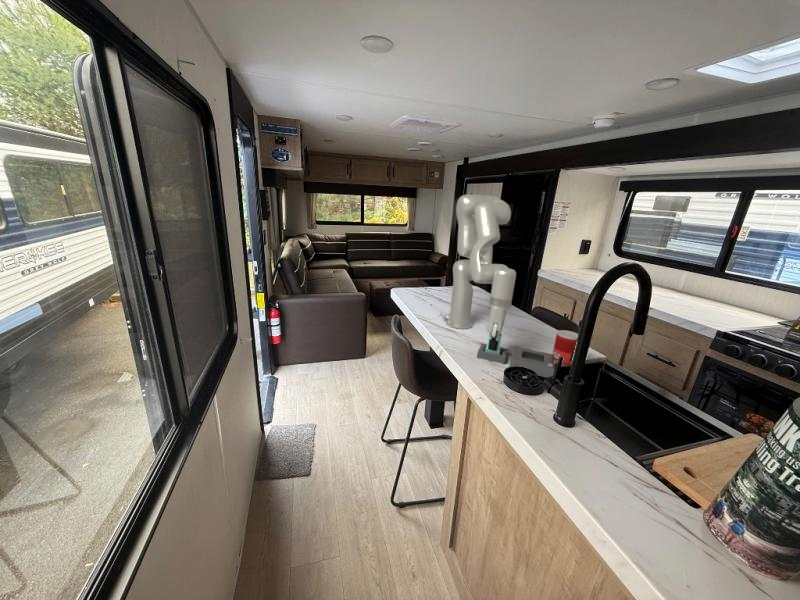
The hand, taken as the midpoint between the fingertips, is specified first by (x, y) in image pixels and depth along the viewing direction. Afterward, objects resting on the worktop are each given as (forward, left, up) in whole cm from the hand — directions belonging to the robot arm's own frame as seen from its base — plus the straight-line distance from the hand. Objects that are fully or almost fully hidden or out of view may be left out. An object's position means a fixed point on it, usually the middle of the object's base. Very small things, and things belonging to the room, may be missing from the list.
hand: (493, 347), depth 117 cm
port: (+14, -1, -4) cm, 15 cm away
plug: (0, 0, -3) cm, 3 cm away
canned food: (+25, +11, -4) cm, 28 cm away
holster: (0, 0, -4) cm, 4 cm away
